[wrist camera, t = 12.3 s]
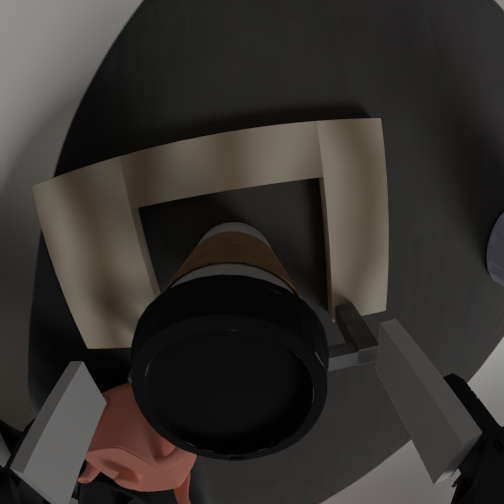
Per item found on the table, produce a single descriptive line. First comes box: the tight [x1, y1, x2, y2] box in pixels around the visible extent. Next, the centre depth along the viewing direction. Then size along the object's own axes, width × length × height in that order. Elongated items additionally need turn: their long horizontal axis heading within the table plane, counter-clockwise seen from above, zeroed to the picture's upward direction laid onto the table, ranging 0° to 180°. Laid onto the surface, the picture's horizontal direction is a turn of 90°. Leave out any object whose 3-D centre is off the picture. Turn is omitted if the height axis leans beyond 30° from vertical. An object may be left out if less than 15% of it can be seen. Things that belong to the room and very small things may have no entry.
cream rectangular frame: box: [32, 118, 389, 384], centre depth 20 cm, size 28×16×8 cm, turn 99°
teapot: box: [77, 382, 197, 504], centre depth 25 cm, size 14×14×11 cm
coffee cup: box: [131, 222, 329, 461], centre depth 17 cm, size 8×8×15 cm
